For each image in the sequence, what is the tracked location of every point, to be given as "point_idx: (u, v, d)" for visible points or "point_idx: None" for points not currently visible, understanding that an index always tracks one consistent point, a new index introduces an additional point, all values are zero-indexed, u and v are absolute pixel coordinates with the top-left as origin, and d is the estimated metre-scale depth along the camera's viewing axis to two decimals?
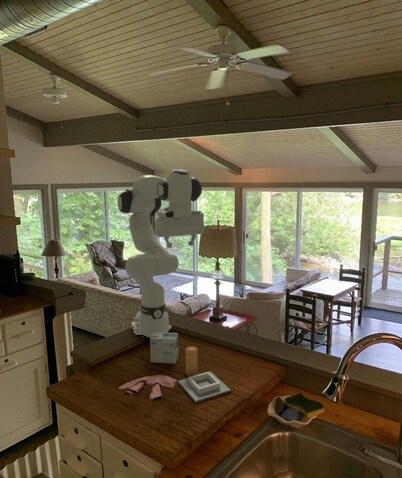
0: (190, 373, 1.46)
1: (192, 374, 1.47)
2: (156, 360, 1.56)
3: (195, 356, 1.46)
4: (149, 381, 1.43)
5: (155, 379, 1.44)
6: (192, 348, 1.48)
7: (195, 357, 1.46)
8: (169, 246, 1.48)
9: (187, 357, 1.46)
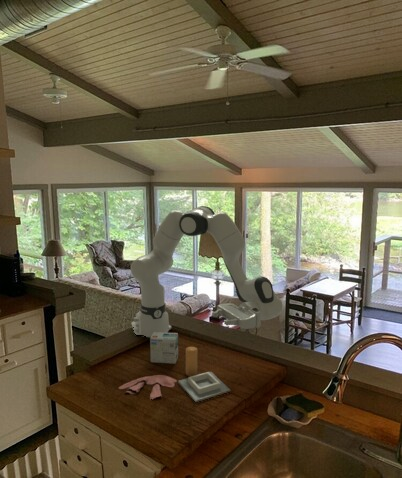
0: (190, 373, 1.46)
1: (192, 374, 1.47)
2: (156, 360, 1.56)
3: (195, 356, 1.46)
4: (149, 381, 1.43)
5: (155, 379, 1.44)
6: (192, 348, 1.48)
7: (195, 357, 1.46)
8: None
9: (187, 357, 1.46)
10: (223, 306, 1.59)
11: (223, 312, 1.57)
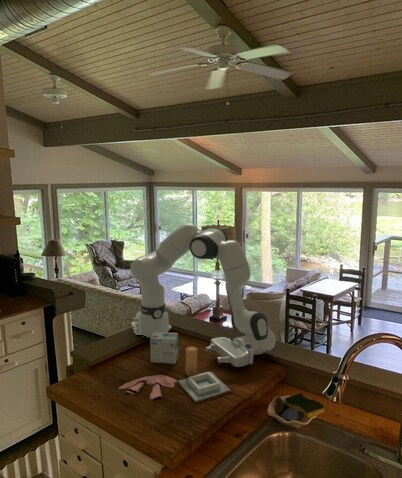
0: (190, 373, 1.46)
1: (192, 374, 1.47)
2: (156, 360, 1.56)
3: (195, 356, 1.46)
4: (149, 381, 1.43)
5: (155, 379, 1.44)
6: (192, 348, 1.48)
7: (195, 357, 1.46)
8: None
9: (187, 357, 1.46)
10: (216, 341, 1.60)
11: (216, 347, 1.59)
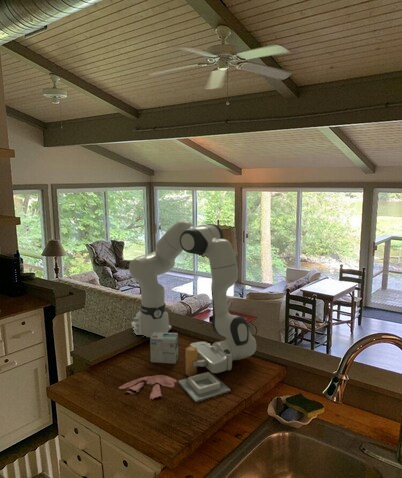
0: (190, 373, 1.46)
1: (192, 374, 1.47)
2: (156, 360, 1.56)
3: (195, 356, 1.46)
4: (149, 381, 1.43)
5: (155, 379, 1.44)
6: (192, 348, 1.48)
7: (195, 357, 1.46)
8: None
9: (187, 357, 1.46)
10: (195, 346, 1.55)
11: None
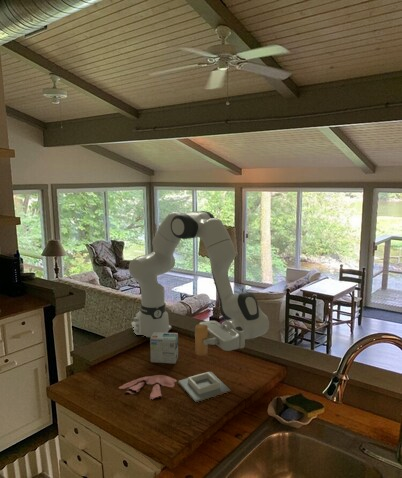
0: (200, 352, 1.38)
1: (202, 353, 1.38)
2: (156, 360, 1.56)
3: (205, 334, 1.37)
4: (149, 381, 1.43)
5: (155, 379, 1.44)
6: (202, 325, 1.39)
7: (205, 335, 1.37)
8: None
9: (197, 335, 1.37)
10: (204, 324, 1.47)
11: None
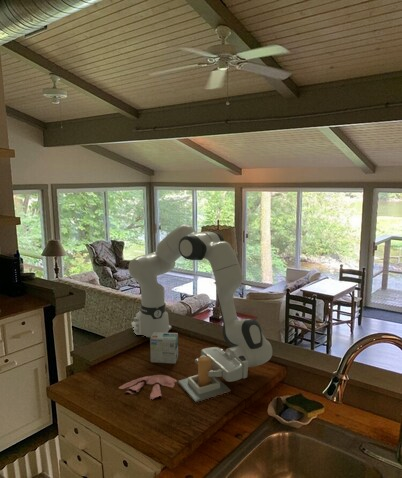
0: (203, 385, 1.36)
1: None
2: (156, 360, 1.56)
3: (208, 367, 1.36)
4: (149, 381, 1.43)
5: (155, 379, 1.44)
6: (205, 358, 1.38)
7: (208, 368, 1.36)
8: None
9: (200, 368, 1.36)
10: (207, 352, 1.45)
11: None
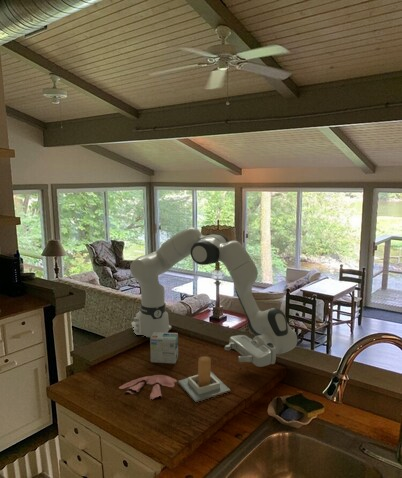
0: (203, 385, 1.36)
1: None
2: (156, 360, 1.56)
3: (208, 367, 1.36)
4: (149, 381, 1.43)
5: (155, 379, 1.44)
6: (205, 358, 1.38)
7: (208, 368, 1.36)
8: None
9: (200, 367, 1.36)
10: (236, 339, 1.52)
11: (236, 345, 1.50)
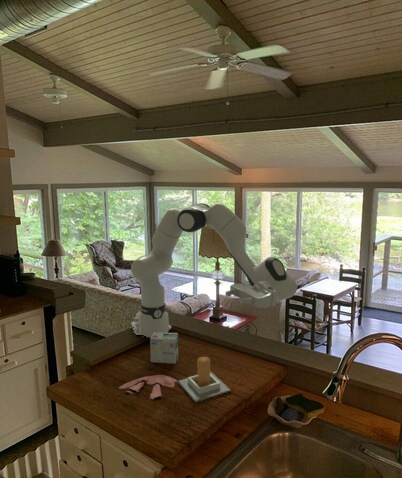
0: (202, 385, 1.36)
1: None
2: (156, 360, 1.56)
3: (207, 367, 1.36)
4: (149, 381, 1.43)
5: (155, 379, 1.44)
6: (204, 358, 1.37)
7: (207, 368, 1.36)
8: None
9: (199, 368, 1.36)
10: (236, 286, 1.54)
11: (237, 292, 1.53)
